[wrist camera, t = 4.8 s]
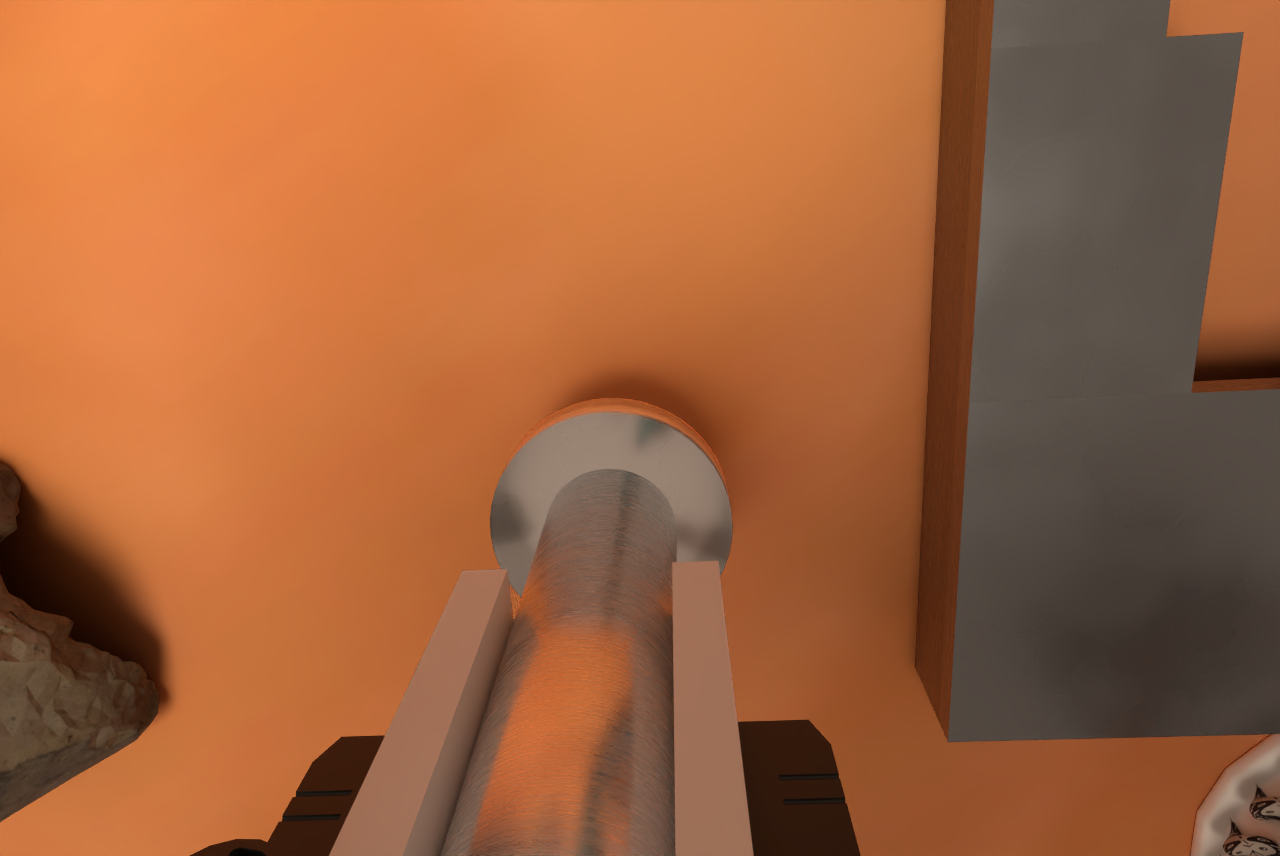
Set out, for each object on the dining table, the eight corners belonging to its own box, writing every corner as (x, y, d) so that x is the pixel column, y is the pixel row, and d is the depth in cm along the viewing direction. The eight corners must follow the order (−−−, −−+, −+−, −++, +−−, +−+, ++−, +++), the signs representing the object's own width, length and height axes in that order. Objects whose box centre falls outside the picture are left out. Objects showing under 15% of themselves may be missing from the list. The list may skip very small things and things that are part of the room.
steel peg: (731, 605, 21) (939, 2126, 5) (511, 612, 21) (34, 2088, 5) (725, 392, 20) (1003, 1620, 3) (488, 402, 20) (-301, 1600, 4)
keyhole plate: (1402, 652, 24) (1505, 728, 21) (915, 666, 25) (947, 741, 22) (1716, -614, 16) (1959, -784, 13) (971, -541, 17) (1036, -686, 14)
